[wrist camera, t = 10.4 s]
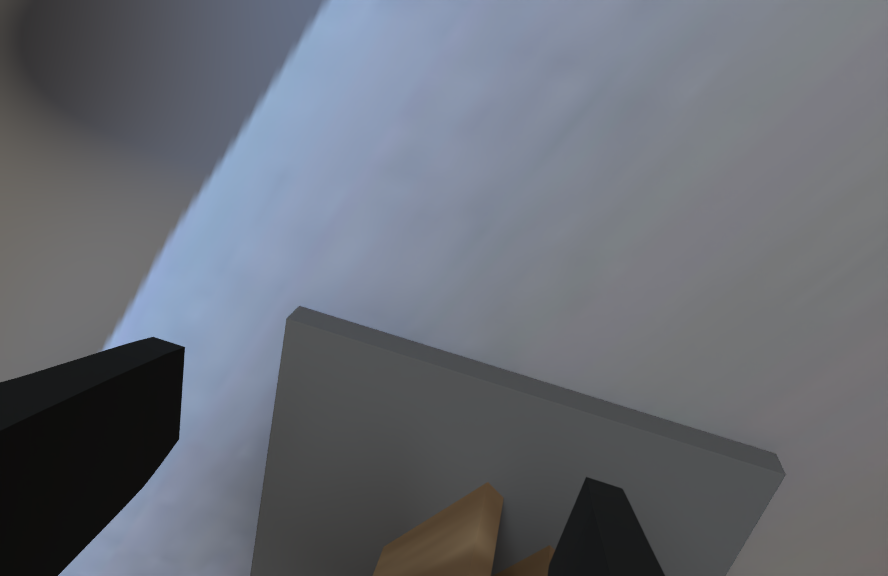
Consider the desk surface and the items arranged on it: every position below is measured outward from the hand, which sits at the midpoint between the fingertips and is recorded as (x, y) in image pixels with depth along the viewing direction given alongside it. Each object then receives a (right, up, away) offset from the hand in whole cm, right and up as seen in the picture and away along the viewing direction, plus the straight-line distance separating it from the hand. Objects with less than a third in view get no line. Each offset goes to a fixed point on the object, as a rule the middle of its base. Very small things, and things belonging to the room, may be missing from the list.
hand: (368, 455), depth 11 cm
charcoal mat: (+2, -6, +12) cm, 14 cm away
